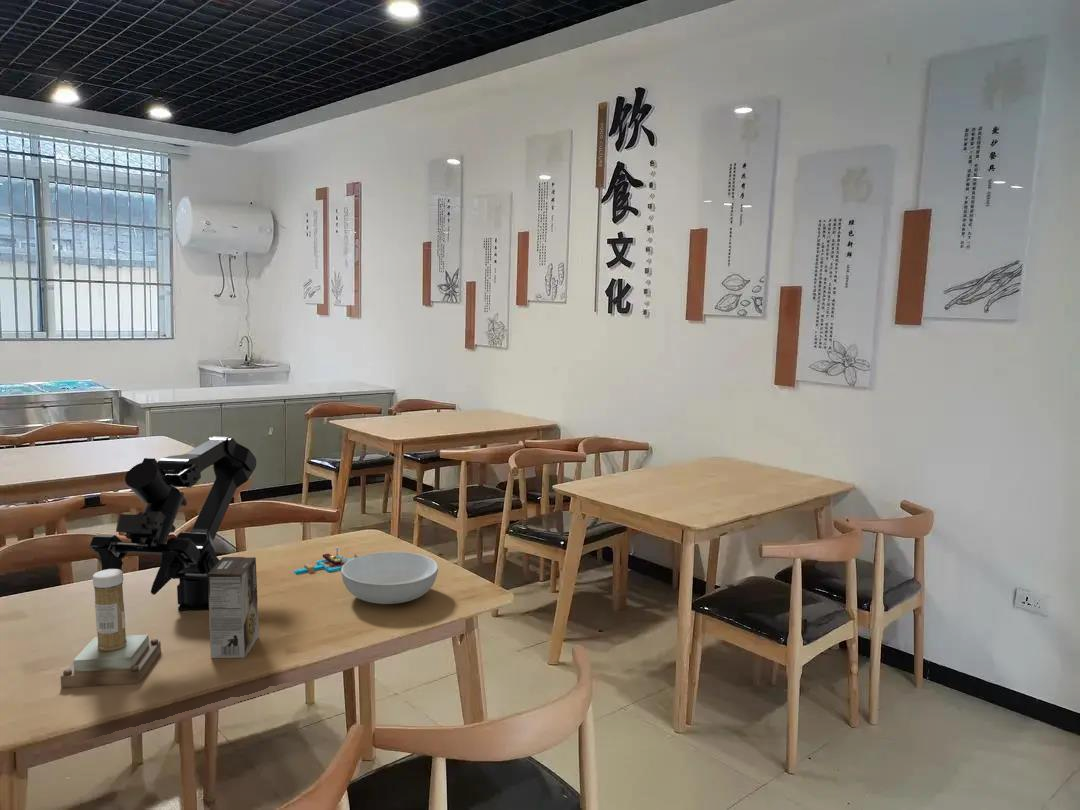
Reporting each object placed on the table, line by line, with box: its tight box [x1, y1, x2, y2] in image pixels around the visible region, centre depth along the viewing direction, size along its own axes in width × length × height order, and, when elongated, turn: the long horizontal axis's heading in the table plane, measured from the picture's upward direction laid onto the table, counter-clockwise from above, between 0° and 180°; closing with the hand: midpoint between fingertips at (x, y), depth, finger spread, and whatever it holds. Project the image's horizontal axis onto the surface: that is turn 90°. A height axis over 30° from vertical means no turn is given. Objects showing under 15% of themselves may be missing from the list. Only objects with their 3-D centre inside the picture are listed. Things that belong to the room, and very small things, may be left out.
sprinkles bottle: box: [92, 569, 127, 651], centre depth 134 cm, size 5×5×14 cm
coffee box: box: [207, 556, 260, 659], centre depth 143 cm, size 9×6×16 cm
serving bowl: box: [340, 551, 439, 605], centre depth 170 cm, size 21×21×7 cm
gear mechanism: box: [293, 546, 364, 575], centre depth 189 cm, size 20×5×9 cm
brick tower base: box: [59, 634, 162, 689], centre depth 135 cm, size 12×12×4 cm
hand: (128, 592), depth 138 cm, fingers open, 9 cm apart
